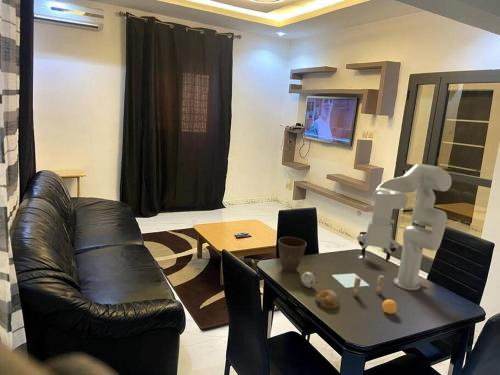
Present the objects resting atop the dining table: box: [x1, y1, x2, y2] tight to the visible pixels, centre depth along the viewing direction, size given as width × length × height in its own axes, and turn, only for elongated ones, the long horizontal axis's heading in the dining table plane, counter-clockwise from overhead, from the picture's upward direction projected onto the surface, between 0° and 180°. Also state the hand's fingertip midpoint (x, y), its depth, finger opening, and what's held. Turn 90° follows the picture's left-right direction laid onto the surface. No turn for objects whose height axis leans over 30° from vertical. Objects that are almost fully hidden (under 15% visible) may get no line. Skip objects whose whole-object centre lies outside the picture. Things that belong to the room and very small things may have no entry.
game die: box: [298, 269, 319, 290], centre depth 181 cm, size 9×8×10 cm
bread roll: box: [314, 289, 339, 309], centre depth 167 cm, size 10×10×8 cm
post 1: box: [352, 276, 362, 298], centre depth 175 cm, size 3×3×9 cm
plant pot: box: [278, 236, 307, 273], centre depth 198 cm, size 15×15×16 cm
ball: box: [382, 298, 398, 315], centre depth 163 cm, size 6×6×6 cm
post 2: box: [375, 274, 385, 296], centre depth 179 cm, size 3×3×9 cm
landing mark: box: [331, 273, 370, 289], centre depth 192 cm, size 14×14×1 cm
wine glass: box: [356, 231, 370, 261], centre depth 224 cm, size 8×8×15 cm
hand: (375, 258), depth 160 cm, fingers open, 9 cm apart
